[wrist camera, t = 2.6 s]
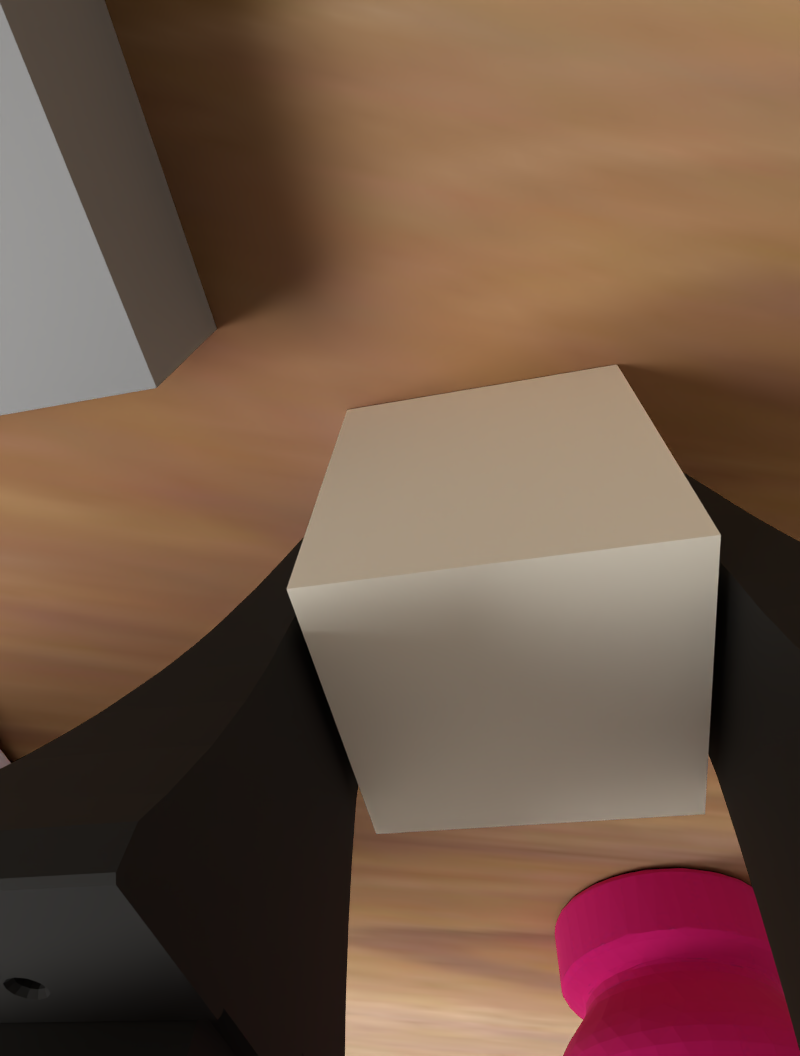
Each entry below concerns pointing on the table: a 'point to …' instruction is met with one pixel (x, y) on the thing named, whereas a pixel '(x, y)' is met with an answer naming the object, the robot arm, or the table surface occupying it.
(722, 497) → the robot arm
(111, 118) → the gray base block
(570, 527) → the cream block
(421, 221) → the table surface
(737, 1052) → the pepper mill
